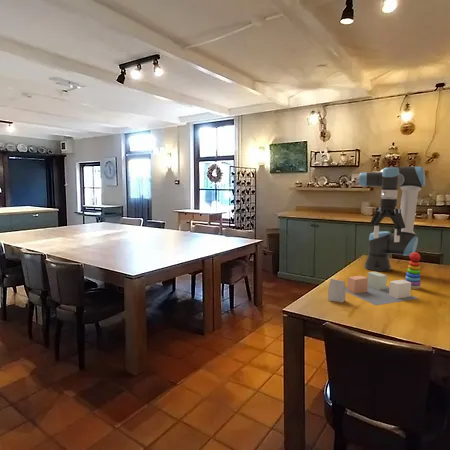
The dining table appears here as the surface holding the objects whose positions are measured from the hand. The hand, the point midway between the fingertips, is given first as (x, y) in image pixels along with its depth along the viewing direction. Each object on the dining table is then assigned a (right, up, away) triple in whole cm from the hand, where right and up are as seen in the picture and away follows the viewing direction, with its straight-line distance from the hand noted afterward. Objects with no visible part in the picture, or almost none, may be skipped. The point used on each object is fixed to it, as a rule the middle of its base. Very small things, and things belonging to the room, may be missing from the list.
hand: (385, 240), depth 187 cm
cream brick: (+1, -26, -12) cm, 29 cm away
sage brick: (-4, -25, +2) cm, 25 cm away
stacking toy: (+15, -25, +3) cm, 29 cm away
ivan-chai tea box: (-31, -28, -17) cm, 45 cm away
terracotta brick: (-16, -25, -5) cm, 31 cm away
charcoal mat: (-8, -26, -8) cm, 28 cm away
